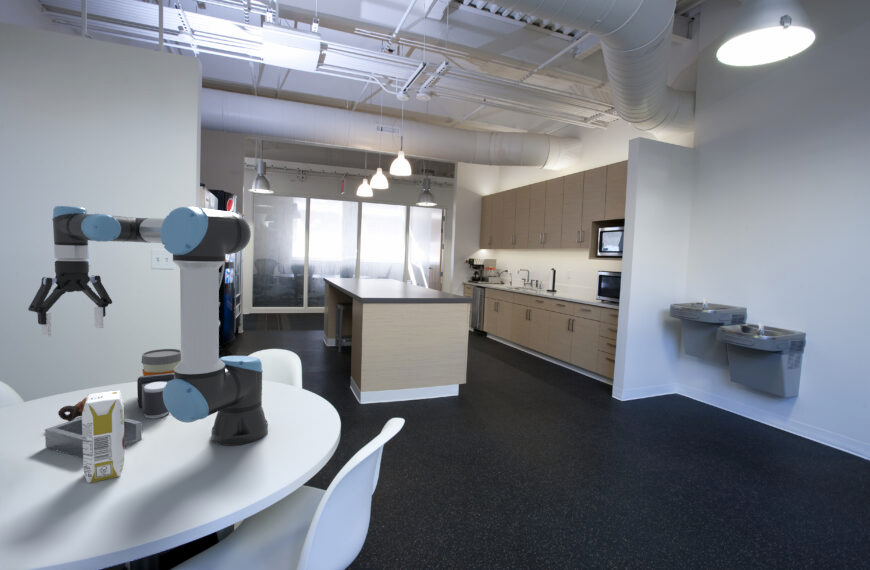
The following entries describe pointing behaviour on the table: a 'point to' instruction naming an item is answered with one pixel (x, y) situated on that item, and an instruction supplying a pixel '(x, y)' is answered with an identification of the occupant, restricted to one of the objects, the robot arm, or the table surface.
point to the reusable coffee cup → (160, 361)
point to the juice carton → (103, 436)
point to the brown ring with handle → (72, 411)
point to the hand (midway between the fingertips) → (74, 331)
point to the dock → (71, 439)
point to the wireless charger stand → (153, 394)
